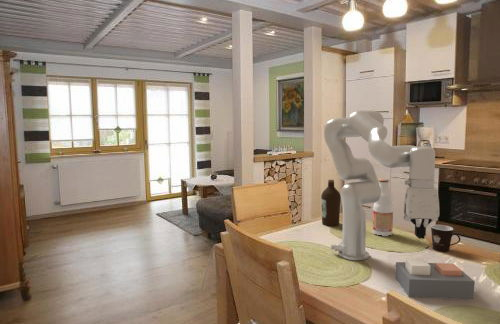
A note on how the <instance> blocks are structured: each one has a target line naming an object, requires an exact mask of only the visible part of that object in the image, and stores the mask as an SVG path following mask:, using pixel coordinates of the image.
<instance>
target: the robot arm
mask: <svg viewBox="0 0 500 324" xmlns="http://www.w3.org/2000/svg"><path fill="white" fill-rule="evenodd" d="M384 123H385V119H384V116H383V115H382V113H381V112H379V111H378V110H356V111H353V112H352V113H351V114H350V115H349V117H340V118H339V117H338V118H337V117H336V118H333V119H330V120H328V121H327V122H326V124H325V126H324V129H323V138H324V140H325V143H326V146H327V148H328V149H329V152H330V154H331V157H332V160H333V163H334V167H335V170H336V172H337V173H336V174H337V175H338V178H339V179H340V180H342V181H345V182H347V181H353V182H348V183H346V184H344V185H343V186H342V188H341V189H340V196H341V205H342V231H341V232H342V236H341V237H342V239H341V241H342V242H340V243H338V244H331V245H330V249H331V250H334V251H335V252H338V256H340V257H341V258H343V259H345V260H350V261H365V260H367V259H369V257H370V253H369V252H368V251H367V250H366V237H367V236H366V234H367V214H366V212H365V209H364V208H363V205H365V204H367V205H368V204H374V203H375V202H377V201H378V200H379V199H380V197H381V188H380V185H379V178H378V176H377V174H376V171H375V167H374V166H373V164H372V162H370V160H369V159H368V158H365V157H355V156H354V155H353V151H352V149H351V147H350V145H349V144H348V143H347V142H346V141H345V140H344V138H359V137H361V138H362V139H364V140H365V142H367V146H368V152H369V153H370V155H371V156H372V157H373V159H375V160H376V161H377V162H378V164H381V165H382V166H383V167H386V168H390V169H392V168H394V169H396V168H407V167H409V168H408V171H409V173H408V175H409V178H408V179H407V180H404V185H407V187H406V191H405V196H404V201H403V202H404V203H403V215H404V216H403V220H404V221H405V222H410V223H412V224H413V225H414V236H415V237H416V238H417V239H418V240H424V239H425V236H427V235H426V234H427V227H428V225H429V224H431V223H432V222H437V221H439V217H440V199H439V192H438V188H436V187H435V173H436V171H435V168H436V150H435V148H433V147H430V146H415V145H410V144H409V145H408V144H407V145H404V144H403V145H390V144H389V143H387V142H386V141H385V139H386V138H387V135H388V128H387V127H386V126H385V125H384Z"/></svg>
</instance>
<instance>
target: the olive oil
mask: <svg viewBox="0 0 500 324" xmlns="http://www.w3.org/2000/svg"><path fill="white" fill-rule="evenodd" d="M327 180H328V182H327V187H326V188H325V189H324V190H322V193H321V195H320V196H321V199H320V200H321V224H322V225H324V226H328V227H337V226H339V225H340V215H341V214H340V213H341V203H342V200H341V192H340V191H339V190H338V189H337V188H336V187H335V180H334V179H327Z"/></svg>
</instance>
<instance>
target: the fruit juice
mask: <svg viewBox="0 0 500 324" xmlns="http://www.w3.org/2000/svg"><path fill="white" fill-rule="evenodd" d="M378 182H379V185H380V188H381V197H380V199H379V200H378V201H377V202H374V203H373V207H372V208H373V211H372V233H373V235H375V234H377V235H376V236H378V235H382V236H381V237H389V236H388V235H391V236H392V235H393V226H394V225H393V224H394V223H393V222H394V205H393V201H394V194H393V192H392V191H391V189H390V188H391V187H390V185H389V184H390V179H388V178H378Z"/></svg>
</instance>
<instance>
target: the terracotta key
mask: <svg viewBox="0 0 500 324" xmlns="http://www.w3.org/2000/svg"><path fill="white" fill-rule="evenodd" d="M434 263H435V269H436V270H437V271H438V272H439V273H440V274H441V275H442V276H462V271H463V270H462V269H461V268H459V267H458V266H457V265H456V264H455V263H452V262H451V263H450V262H449V263H447V262H445V263H443V262H434ZM460 269H461V270H460Z"/></svg>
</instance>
